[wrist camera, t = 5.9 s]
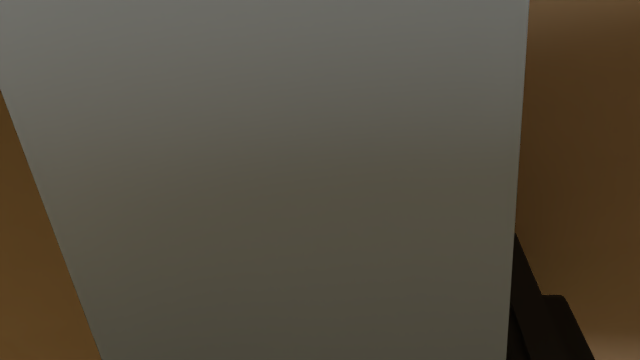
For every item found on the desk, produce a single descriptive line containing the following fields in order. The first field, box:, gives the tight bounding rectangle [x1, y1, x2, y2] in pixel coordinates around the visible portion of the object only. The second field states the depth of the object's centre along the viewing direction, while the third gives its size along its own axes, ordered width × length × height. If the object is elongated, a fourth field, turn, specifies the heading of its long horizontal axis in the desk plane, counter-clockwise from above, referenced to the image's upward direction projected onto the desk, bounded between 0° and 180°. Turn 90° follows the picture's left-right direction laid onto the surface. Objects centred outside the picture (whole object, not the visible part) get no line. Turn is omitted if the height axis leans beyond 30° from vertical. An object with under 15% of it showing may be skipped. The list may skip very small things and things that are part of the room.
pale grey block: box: [0, 0, 529, 360], centre depth 8 cm, size 5×13×6 cm, turn 6°
